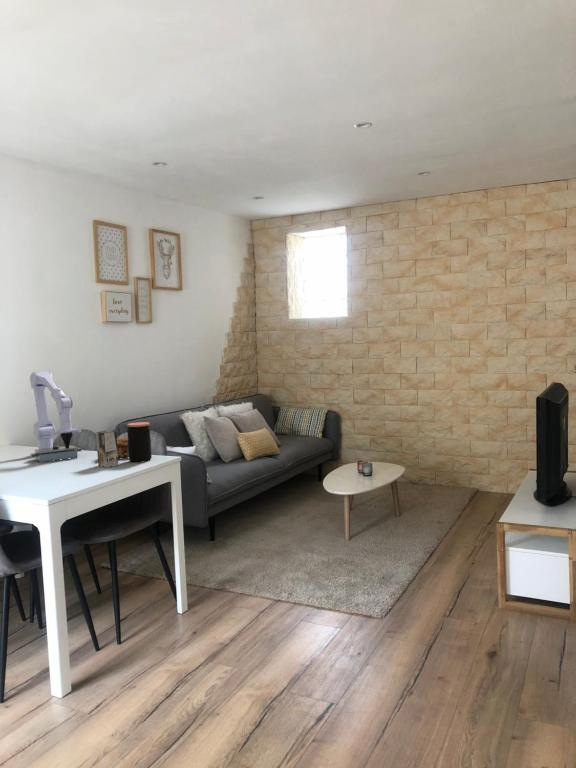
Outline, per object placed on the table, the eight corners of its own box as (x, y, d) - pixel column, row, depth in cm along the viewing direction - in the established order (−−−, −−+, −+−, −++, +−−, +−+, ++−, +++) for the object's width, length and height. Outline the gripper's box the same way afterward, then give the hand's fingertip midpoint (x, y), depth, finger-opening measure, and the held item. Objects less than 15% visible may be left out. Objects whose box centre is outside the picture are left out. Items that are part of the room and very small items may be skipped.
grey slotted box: (29, 459, 322) (28, 452, 322) (77, 453, 334) (77, 446, 334) (33, 463, 310) (33, 455, 309) (83, 457, 322) (83, 449, 321)
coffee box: (119, 465, 294) (117, 431, 293) (106, 467, 290) (103, 432, 289) (110, 463, 301) (108, 429, 300) (97, 465, 297) (95, 431, 296)
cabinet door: (34, 451, 323) (33, 447, 323) (71, 446, 333) (71, 443, 332) (38, 453, 310) (38, 449, 310) (77, 449, 320) (77, 445, 320)
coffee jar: (154, 458, 310) (152, 421, 309) (147, 462, 299) (145, 424, 298) (133, 458, 311) (131, 422, 310) (125, 462, 300) (123, 425, 299)
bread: (105, 461, 309) (104, 440, 308) (103, 458, 318) (101, 438, 318) (144, 457, 316) (143, 437, 315) (140, 454, 326) (139, 434, 325)
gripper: (51, 423, 313) (53, 450, 314) (81, 420, 321) (83, 447, 321) (49, 422, 319) (51, 448, 320) (78, 419, 327) (80, 445, 328)
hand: (67, 447), depth 321 cm, fingers closed, pressing on cabinet door
